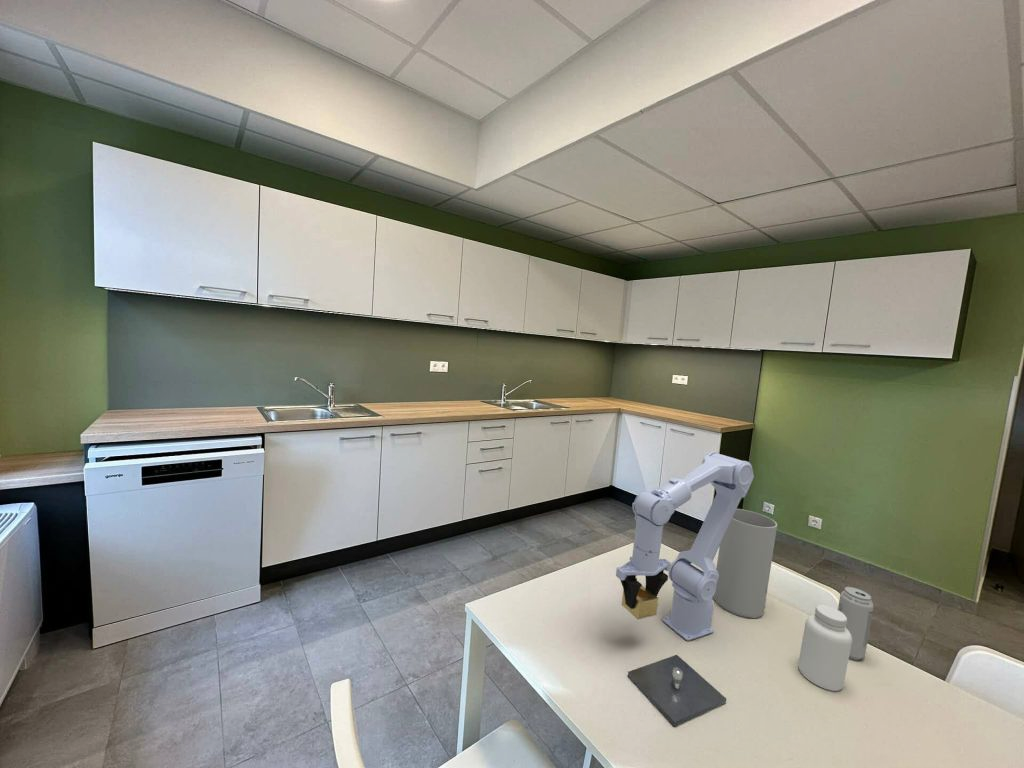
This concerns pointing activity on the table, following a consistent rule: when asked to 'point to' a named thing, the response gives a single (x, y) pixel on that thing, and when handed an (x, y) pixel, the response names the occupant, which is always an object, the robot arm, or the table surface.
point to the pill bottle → (825, 648)
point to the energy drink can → (857, 618)
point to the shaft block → (676, 689)
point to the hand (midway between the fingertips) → (639, 603)
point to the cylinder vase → (745, 563)
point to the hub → (643, 604)
